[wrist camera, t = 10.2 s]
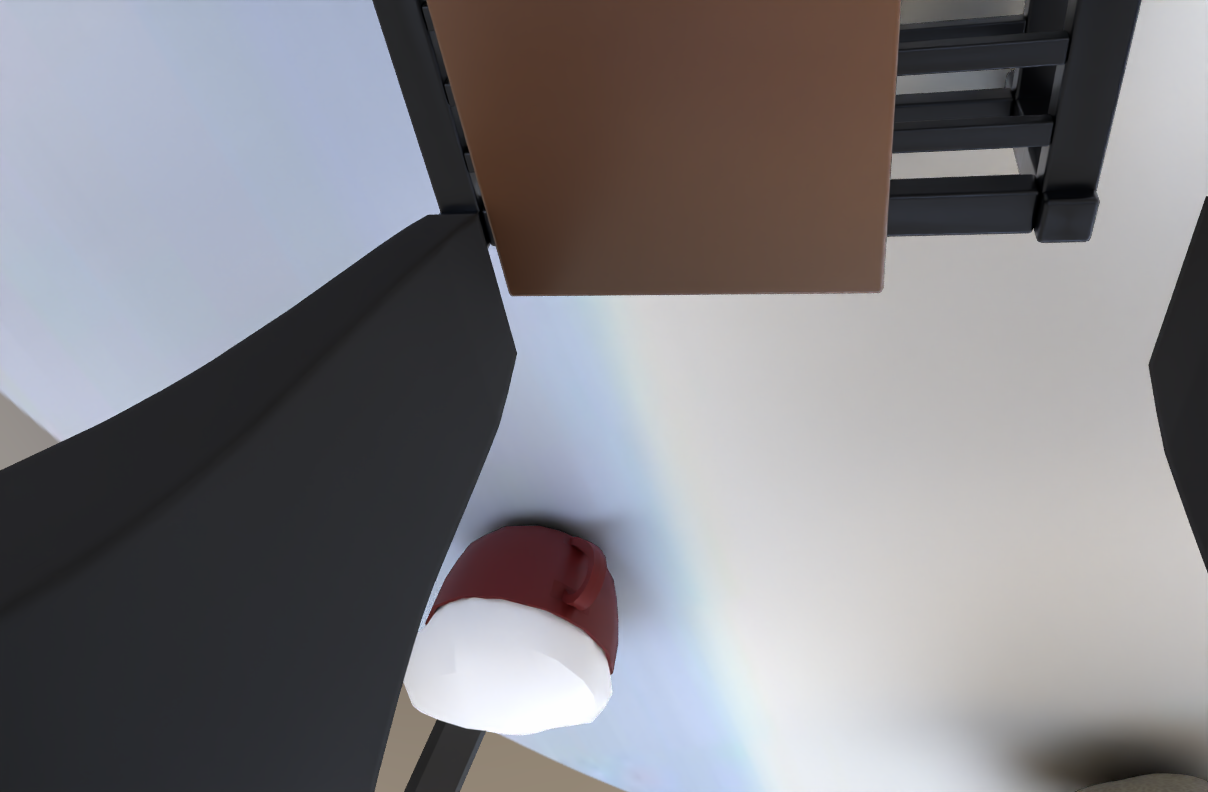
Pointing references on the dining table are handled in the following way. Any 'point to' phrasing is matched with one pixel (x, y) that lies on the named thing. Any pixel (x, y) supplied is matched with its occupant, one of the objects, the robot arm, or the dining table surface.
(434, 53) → the shoe rack
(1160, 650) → the dining table surface
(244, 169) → the dining table surface
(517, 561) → the cocoa
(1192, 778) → the cantaloupe
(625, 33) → the shoe brush
